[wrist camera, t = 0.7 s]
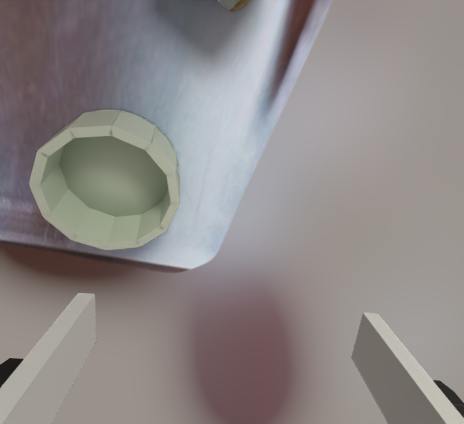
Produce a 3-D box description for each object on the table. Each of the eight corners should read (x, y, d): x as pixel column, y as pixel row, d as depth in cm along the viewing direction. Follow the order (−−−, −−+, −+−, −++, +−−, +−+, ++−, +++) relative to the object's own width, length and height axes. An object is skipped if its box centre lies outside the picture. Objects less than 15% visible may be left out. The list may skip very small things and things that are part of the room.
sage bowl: (26, 154, 37) (-3, 179, 31) (124, 82, 34) (112, 95, 28) (115, 235, 44) (105, 267, 39) (201, 181, 42) (204, 207, 36)
